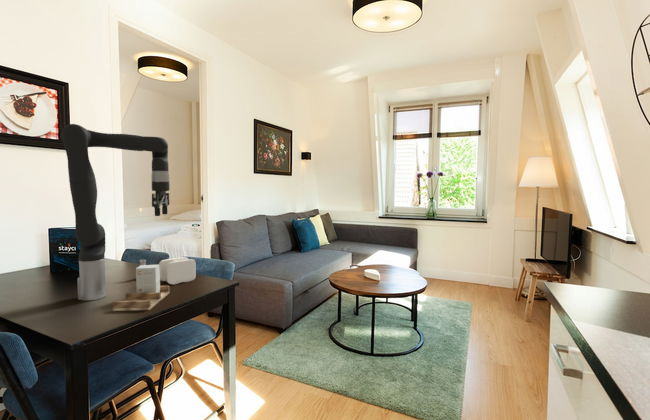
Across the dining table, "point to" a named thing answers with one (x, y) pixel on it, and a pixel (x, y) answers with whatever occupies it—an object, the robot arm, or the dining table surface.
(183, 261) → the cable organizer
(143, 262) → the flask
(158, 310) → the dining table surface
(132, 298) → the slot rack
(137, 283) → the small box
